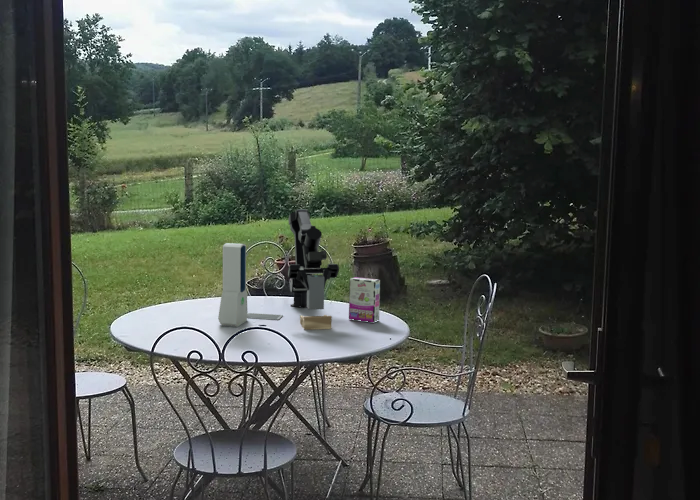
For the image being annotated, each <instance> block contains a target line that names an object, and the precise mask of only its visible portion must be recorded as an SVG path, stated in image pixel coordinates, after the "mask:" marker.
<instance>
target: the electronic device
mask: <svg viewBox="0 0 700 500" xmlns="http://www.w3.org/2000/svg"><path fill="white" fill-rule="evenodd" d="M248 313H249V312H248V290H247V245H246V244H245V243H232V242H230V243H229V242H227V243H224V244H223V245H222V293H221V296H220V305H219V309H218V316H217V317H218V322H219V324H220V326H222V327H233V328H238V327H239V326H241V325H243V324H244V323H246V322H247V321H248V318H247V317H248Z"/></svg>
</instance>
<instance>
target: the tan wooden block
mask: <svg viewBox="0 0 700 500" xmlns="http://www.w3.org/2000/svg"><path fill="white" fill-rule="evenodd" d="M299 316H300V317H299V324H300V325H301V327H302V328H303V330H304V331H306V330H307V331H308V330H311V331H312V330H331V329H332V319H333V317H332V316H331V315H327V314H323V315H309V316H306V315H305V316H304V315H302V314H301V315H299Z"/></svg>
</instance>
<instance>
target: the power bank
mask: <svg viewBox="0 0 700 500" xmlns="http://www.w3.org/2000/svg"><path fill="white" fill-rule="evenodd" d="M307 281H308V285H309V290H307V309H308V310H309V311H310V310H325V289H324V276H323V274H310V275H307Z"/></svg>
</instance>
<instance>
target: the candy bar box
mask: <svg viewBox="0 0 700 500" xmlns="http://www.w3.org/2000/svg"><path fill="white" fill-rule="evenodd" d="M348 294H349V295H348V296H349V298H348V299H349V301H348V320H349V319H354V320H361V321H368V322H375V321H377V320H379V321H380V306H381V305H380V304H381V303H380V301H381V300H380V299H381V279H375V278H367V277H357V276H354V277H351V278H349V292H348ZM368 322H367V323H368Z"/></svg>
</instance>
